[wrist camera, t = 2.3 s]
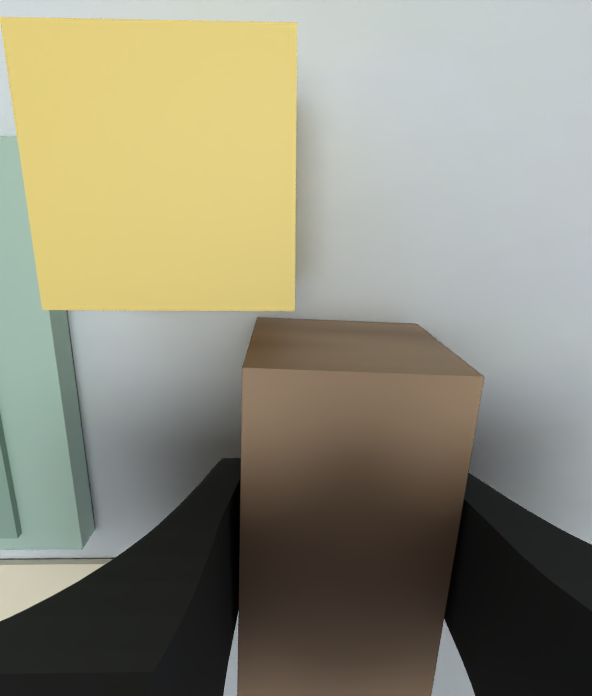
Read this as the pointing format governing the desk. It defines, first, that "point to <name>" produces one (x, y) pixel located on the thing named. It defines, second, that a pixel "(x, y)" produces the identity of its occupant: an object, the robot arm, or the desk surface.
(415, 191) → the desk surface
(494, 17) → the desk surface
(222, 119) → the ochre cube
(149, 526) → the desk surface
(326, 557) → the walnut brick
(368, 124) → the desk surface
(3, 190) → the baseplate
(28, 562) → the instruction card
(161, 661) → the robot arm
